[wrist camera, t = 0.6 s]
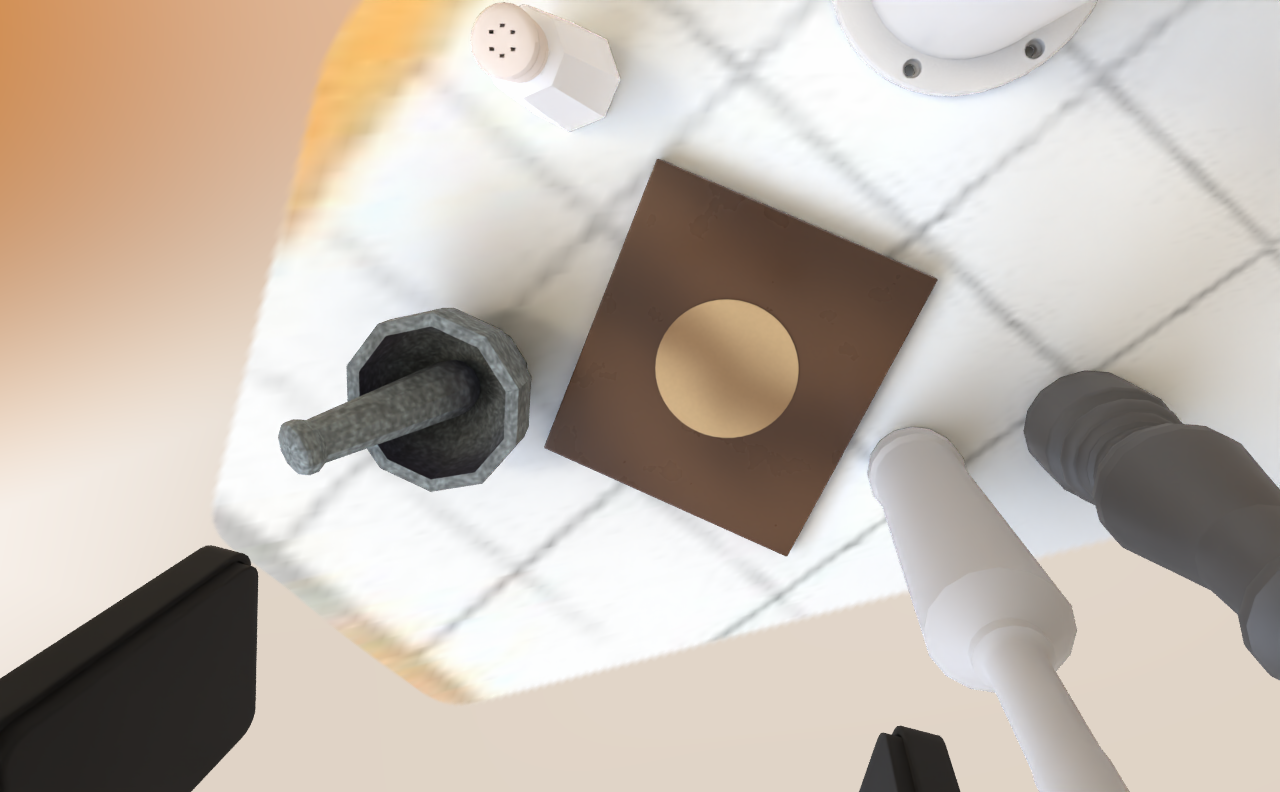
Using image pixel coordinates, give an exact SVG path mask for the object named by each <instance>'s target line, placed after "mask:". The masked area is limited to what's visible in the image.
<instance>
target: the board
mask: <svg viewBox="0 0 1280 792" xmlns="http://www.w3.org/2000/svg"><path fill="white" fill-rule="evenodd" d="M936 282H937V279H936V278H935V277H933V276H930V275H928V274H926V273H923V272H921V271H919V270H916V269H914V268H912V267H909V266H907V265H905V264H902V263H900V262H898V261H895V260H893V259H891V258H888V257H886V256H884V255H881V254H879V253H877V252H875V251H872V250H870V249H868V248H865V247H863V246H861V245H858V244H856V243H854V242H851V241H849V240H847V239H844V238H842V237H840V236H837V235H835V234H833V233H830V232H828V231H826V230H823V229H821V228H819V227H816V226H814V225H812V224H809V223H807V222H805V221H802V220H800V219H798V218H795V217H793V216H791V215H789V214H786V213H784V212H782V211H779V210H777V209H775V208H772V207H770V206H768V205H765V204H763V203H761V202H758V201H756V200H754V199H751V198H749V197H747V196H744V195H742V194H740V193H737V192H735V191H733V190H730V189H728V188H726V187H723V186H721V185H719V184H716V183H714V182H712V181H709V180H707V179H705V178H703V177H700V176H698V175H696V174H693V173H691V172H689V171H686V170H684V169H682V168H679V167H677V166H675V165H672V164H670V163H668V162H665V161H663V160H661V159H657V160H656V163H655V165H654V168H653V170H652V173H651V176H650V178H649V181H648V183H647V186H646V188H645V191H644V193H643V196H642V199H641V201H640V204H639V206H638V209H637V211H636V214H635V216H634V219H633V221H632V224H631V227H630V229H629V232H628V234H627V237H626V239H625V242H624V244H623V247H622V250H621V252H620V255H619V257H618V260H617V262H616V265H615V267H614V270H613V273H612V275H611V278H610V280H609V283H608V285H607V288H606V290H605V293H604V296H603V298H602V301H601V303H600V306H599V308H598V311H597V313H596V316H595V318H594V321H593V324H592V326H591V329H590V331H589V334H588V336H587V339H586V341H585V344H584V347H583V349H582V352H581V354H580V357H579V359H578V362H577V364H576V367H575V370H574V372H573V375H572V377H571V380H570V382H569V385H568V387H567V390H566V392H565V395H564V398H563V400H562V403H561V405H560V408H559V410H558V413H557V415H556V418H555V421H554V423H553V426H552V428H551V431H550V433H549V436H548V438H547V441H546V444H545V446H544V448H546V449H548V450H550V451H552V452H555V453H557V454H559V455H561V456H564V457H566V458H568V459H570V460H572V461H575V462H577V463H579V464H581V465H584V466H586V467H588V468H590V469H592V470H595V471H597V472H599V473H601V474H604V475H606V476H608V477H610V478H613V479H615V480H617V481H619V482H621V483H624V484H626V485H628V486H630V487H633V488H635V489H637V490H639V491H641V492H644V493H646V494H648V495H650V496H653V497H655V498H657V499H659V500H662V501H664V502H666V503H668V504H670V505H673V506H675V507H677V508H679V509H682V510H684V511H686V512H688V513H690V514H693V515H695V516H697V517H699V518H702V519H704V520H706V521H708V522H711V523H713V524H715V525H717V526H719V527H722V528H724V529H726V530H728V531H731V532H733V533H735V534H737V535H739V536H742V537H744V538H746V539H748V540H751V541H753V542H755V543H757V544H760V545H762V546H764V547H766V548H768V549H771V550H773V551H775V552H777V553H780V554H782V555H784V556H788V554H789V552H790V550H791V548H792V547H793V545H794V543H795V541H796V539H797V537H798V536H799V534H800V532H801V530H802V528H803V526H804V524H805V523H806V521H807V519H808V517H809V515H810V513H811V512H812V510H813V508H814V506H815V504H816V502H817V501H818V499H819V497H820V495H821V493H822V491H823V490H824V488H825V486H826V484H827V482H828V480H829V479H830V477H831V475H832V473H833V471H834V469H835V468H836V466H837V464H838V462H839V460H840V458H841V457H842V455H843V453H844V451H845V449H846V447H847V445H848V444H849V442H850V440H851V438H852V436H853V434H854V433H855V431H856V429H857V427H858V425H859V423H860V422H861V420H862V418H863V416H864V414H865V412H866V411H867V409H868V407H869V405H870V403H871V401H872V400H873V398H874V396H875V394H876V392H877V390H878V389H879V387H880V385H881V383H882V381H883V379H884V377H885V376H886V374H887V372H888V370H889V368H890V366H891V365H892V363H893V361H894V359H895V357H896V355H897V354H898V352H899V350H900V348H901V346H902V344H903V343H904V341H905V339H906V337H907V335H908V333H909V332H910V330H911V328H912V326H913V324H914V322H915V321H916V319H917V317H918V315H919V313H920V311H921V310H922V308H923V306H924V304H925V302H926V300H927V298H928V297H929V295H930V293H931V291H932V289H933V287H934V286H935V284H936Z"/></svg>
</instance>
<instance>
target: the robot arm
mask: <svg viewBox="0 0 1280 792" xmlns="http://www.w3.org/2000/svg"><path fill="white" fill-rule="evenodd" d="M1097 1H1098V0H832V3H833V6H834V9H835V13H836V16H837V19H838V23H839V25H840V27H841V29H842V31H843V32H844V34H845V36H846V38H847V40H848V42H849V44H850V46H851V47H852V48H853V49H854V50H855V52H856V53H857V54H858V55H859V56H860V58H861V59H862V60H863V61H864V62H865V64H866V65H868V66H869V67H870V68H871V69H873V70H874V71H875V72H877V73H878V74H879V75H880V76H882V77H883V78H884V79H886V80H888V81H890V82H892V83H894V84H896V85H898V86H900V87H902V88H904V89H906V90H910V91H914V92H918V93H922V94H927V95H932V96H962V95H968V94H975V93H981V92H984V91H987V90H990V89H993V88H996V87H999V86H1002V85H1005V84H1007V83H1009V82H1011V81H1013V80H1015V79H1017V78H1020V77H1022V76H1024V75H1026V74H1027V73H1029V72H1031V71H1032V70H1034V69H1035V68H1037V67H1038V66H1040V65H1042V64H1043V63H1044V62H1046V61H1047V60H1048V59H1050V58H1051V57H1052V56H1053V55H1054V54H1055V53H1056V52H1057V51H1058V50H1059V49H1060V48H1061V47H1063V46H1064V45H1065V44H1066V43H1067V42H1068V41H1069V40H1070V39H1071V38H1072V37H1073V35H1074V34H1075V33H1076V32H1077V30H1078V29H1079V28H1080V26H1081V25H1082V24H1083V23H1084V21H1085V20H1086V19H1087V17H1088V16H1089V15H1090V13H1091V12H1092V10H1093V8H1094V6H1095V4H1096V2H1097ZM1027 46H1031V47H1032V48H1033V50H1034V53H1033V55H1032V56H1031V57H1028V56H1027V55H1026V53H1025V49H1026V47H1027ZM906 66H912V67H913V68H914V74H913V75H912V76H907V75H906V74H905V72H904V70H905V67H906ZM257 604H258V572H257V570H256V568H254V567H252V566H251V561H250V559H249V557H248V556H247V555H245V554H243V553H239V552H235V551H231V550H227V549H223V548H220V547H216V546H205V547H203V548H200V549H199V550H197V551H196V552H194V553H193V554H191V555H189V556H188V557H186V558H185V559H184V560H182V561H180V562H179V563H177V564H176V565H174V566H173V567H171V568H170V569H168V570H166V571H165V572H164V573H162V574H160V575H159V576H157V577H156V578H154V579H153V580H151V581H149V582H148V583H146V584H145V585H143V586H142V587H140V588H139V589H137V590H136V591H134V592H133V593H131V594H129V595H128V596H126V597H125V598H123V599H122V600H120V601H119V602H117V603H116V604H114V605H113V606H111V607H110V608H108V609H107V610H105V611H103V612H102V613H100V614H99V615H97V616H96V617H94V618H93V619H92V620H90V621H88V622H87V623H85V624H83V625H82V626H80V627H79V628H77V629H76V630H74V631H73V632H71V633H70V634H68V635H67V636H65V637H63V638H62V639H60V640H59V641H57V642H56V643H54V644H53V645H51V646H50V647H48V648H46V649H45V650H43V651H42V652H40V653H39V654H37V655H36V656H34V657H33V658H31V659H30V660H28V661H26V662H25V663H23V664H22V665H20V666H19V667H17V668H16V669H14V670H13V671H11V672H10V673H8V674H7V675H5V676H3V677H2V678H0V792H191V791H192V790H193V789H194V788H195V787H196V786H197V785H198V784H199V783H200V782H201V781H202V780H203V778H204V777H205V776H206V775H207V774H208V773H209V772H210V771H211V770H212V769H213V768H214V767H215V766H216V765H217V764H218V763H219V761H220V760H221V759H222V758H223V757H224V756H225V755H226V754H227V753H228V752H229V751H230V750H231V749H232V748H233V747H234V745H235V744H236V743H237V742H238V741H239V740H240V739H241V738H242V737H243V736H244V734H245V733H246V732H247V730H248V728H249V727H250V725H251V723H252V720H253V717H254V714H255V701H256V697H255V696H256V653H257V652H256V651H257V606H258V605H257ZM859 792H960V789H959V786H958V783H957V780H956V777H955V773H954V770H953V767H952V764H951V761H950V758H949V755H948V751H947V748H946V745H945V743H944V741H943V739H942V738H941V737H940V736H938V735H934V734H930V733H927V732H923V731H919V730H915V729H911V728H907V727H904V726H897V727H896V728H895V730H894V732H893V734H892V735H890V734H886V733H881V734H880V735H879V737H878V739H877V742H876V745H875V748H874V750H873V753H872V756H871V759H870V762H869V765H868V768H867V771H866V774H865V777H864V779H863V782H862V785H861V788H860V791H859Z"/></svg>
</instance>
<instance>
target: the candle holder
mask: <svg viewBox="0 0 1280 792" xmlns="http://www.w3.org/2000/svg"><path fill="white" fill-rule="evenodd" d="M1024 435H1025V438H1026V442H1027V446H1028V450H1029V452H1030V453H1031V454H1032V455H1033V457H1034V458H1035V459H1036V460H1037V461H1038V462H1039V463H1040V465H1041V466H1042V467H1043V468H1044V469H1045V470H1046V471H1047V472H1048V473H1049V474H1050V475H1051V476H1052V477H1053V478H1054V479H1055V480H1056V481H1057V482H1058V483H1059V484H1060V485H1061V486H1062V487H1063V488H1064V489H1065V490H1066V491H1069V492H1071V493H1073V494H1075V495H1077V496H1079V497H1080V498H1081V499H1083V500H1085V501H1088V502H1090V503H1092V504H1094V505H1096V509H1097V513H1098V517H1099V520H1100V522H1101V523H1102V525H1103V526H1104V527H1105V528H1106V529H1107V530H1108V532H1109V533H1110V534H1111V535H1112V536H1113V537H1114V539H1115V540H1116V541H1117V542H1118V543H1119V544H1120V545H1121V546H1122V547H1123V548H1125V549H1127V550H1129V551H1131V552H1133V553H1135V554H1138V555H1140V556H1141V557H1143V558H1146V559H1148V560H1150V561H1152V562H1154V563H1156V564H1158V565H1160V566H1162V567H1164V568H1166V569H1168V570H1171V571H1173V572H1175V573H1177V574H1179V575H1181V576H1183V577H1185V578H1187V579H1189V580H1191V581H1193V582H1195V583H1197V584H1199V585H1201V586H1203V587H1205V588H1207V589H1209V590H1211V591H1212V592H1213V593H1215V594H1216V595H1217V596H1218V597H1219V598H1220V599H1221V600H1222V601H1224V603H1226V604H1227V605H1228V606H1229V607H1230V608H1231V609H1232V610H1233V611H1234V612H1235V613H1237V614H1238V618H1239V622H1240V627H1241V632H1242V637H1243V641H1244V644H1245V646H1246V648H1247V649H1248V650H1249V651H1250V652H1251V654H1252V655H1253V656H1254V657H1255V658H1256V660H1257V661H1258V662H1259V663H1260V664H1261V665H1262V667H1263V668H1264V669H1265V670H1266V671H1267V672H1268V673H1269V674H1270V675H1271V676H1272V677H1274V678H1276V679H1278V680H1280V489H1279V488H1278V487H1277V486H1276V485H1275V484H1274V482H1273V481H1272V480H1271V479H1270V478H1269V477H1268V475H1267V474H1266V473H1265V472H1264V471H1263V470H1262V468H1261V467H1260V466H1259V465H1258V463H1257V462H1256V461H1255V460H1254V459H1253V457H1252V456H1251V455H1250V454H1249V453H1248V451H1247V450H1246V449H1245V448H1244V447H1243V446H1242V444H1241V443H1239V442H1237V441H1235V440H1233V439H1231V438H1229V437H1227V436H1225V435H1223V434H1221V433H1219V432H1217V431H1214V430H1212V429H1210V428H1208V427H1206V426H1199V425H1187V424H1182V422H1181V421H1180V420H1179V419H1178V418H1177V416H1176V415H1175V414H1174V413H1173V412H1172V411H1170V410H1169V409H1168V407H1167V406H1166V405H1165V404H1164V402H1163V401H1162V400H1161V399H1159V398H1158V397H1156V396H1154V395H1152V394H1150V393H1148V392H1146V391H1145V390H1143V389H1141V388H1139V387H1137V386H1135V385H1134V384H1132V383H1130V382H1128V381H1126V380H1124V379H1122V378H1119V377H1117V376H1115V375H1113V374H1111V373H1109V372H1095V371H1082V372H1078V373H1075V374H1071V375H1068V376H1064V377H1061V378H1059V379H1058V380H1056V381H1055V382H1053V383H1052V384H1051V385H1049V386H1048V387H1046V388H1045V389H1043V390H1042V391H1041V392H1040V393H1039V394H1038V396H1037V397H1036V399H1035V400H1034V402H1033V403H1032V405H1031V406H1030V408H1029V409H1028V411H1027V417H1026V422H1025V427H1024Z"/></svg>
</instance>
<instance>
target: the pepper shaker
mask: <svg viewBox="0 0 1280 792" xmlns="http://www.w3.org/2000/svg"><path fill="white" fill-rule="evenodd" d="M471 49H472V53H473V55H474V58H475V61H476V62H477V63H478V65H479V66H480V68H481V69H482V70H483V71H484V72H486V73H487V74H488V75H490V76H491V77H492V80H493V82H494V84H495V85H496V86H497V87H498V88H499V89H500V90H502V91H503V92H505V93H506V94H507V95H509V96H510V97H511V98H513V99H514V100H515V101H517V102H518V103H520V104H521V105H522V106H524V107H525V108H526V109H528V110H529V111H531V112H532V113H533V114H535V115H536V116H538V117H540V118H542V119H544V120H546V121H548V122H550V123H552V124H554V125H556V126H559V127H561V128H563V129H565V130H567V131H569V132H571V131H573V130H576V129H578V128H581V127H583V126H586V125H588V124H590V123H593V122H595V121H598V120H600V119H603V118H605V116H606V113H607V111H608V109H609V106H610V104H611V101H612V99H613V97H614V94H615V92H616V89H617V87H618V85H619V82H620V80H621V79H620V76H619V73H618V70H617V67H616V65H615V62H614V59H613V56H612V53H611V50H610V47H609V44H608V41H607V39H605V38H603V37H601V36H599V35H597V34H595V33H593V32H591V31H589V30H587V29H585V28H583V27H581V26H579V25H577V24H575V23H573V22H570V21H568V20H565V19H562V18H560V17H557V16H555V15H552V14H550V13H547V12H544V11H542V10H539V9H537V8H534V7H531V6H529V5H524V4H522V5H520V6H516V5H514V4H511V3H505V2H503V3H496V4H493V5H491V6H489V7H487V8H486V9H485V10H483V11H482V12H481V13H480V14H479V16H478V17H477V19H476V20H475V22H474V25H473V28H472V31H471Z"/></svg>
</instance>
